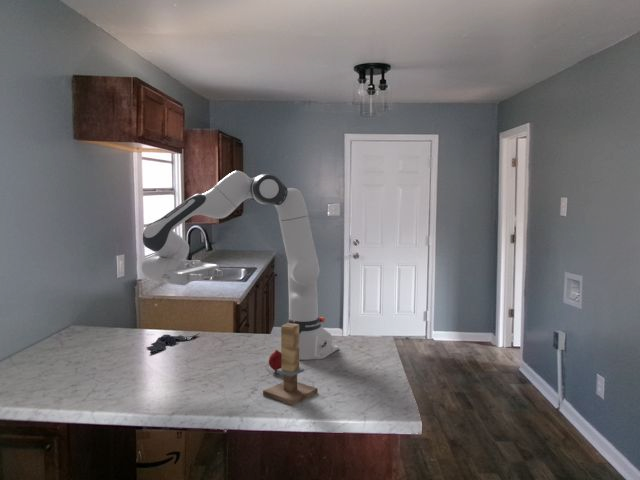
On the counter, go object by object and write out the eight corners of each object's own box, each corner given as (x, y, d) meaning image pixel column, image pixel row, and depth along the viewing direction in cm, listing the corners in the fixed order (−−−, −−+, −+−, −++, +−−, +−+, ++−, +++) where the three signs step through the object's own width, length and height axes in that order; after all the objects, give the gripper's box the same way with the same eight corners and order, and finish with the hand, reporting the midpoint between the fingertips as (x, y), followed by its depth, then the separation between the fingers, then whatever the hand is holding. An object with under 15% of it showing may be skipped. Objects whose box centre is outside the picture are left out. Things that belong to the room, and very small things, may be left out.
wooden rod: (288, 366, 167) (288, 322, 165) (299, 368, 165) (299, 324, 163) (281, 370, 163) (281, 325, 162) (292, 372, 161) (292, 327, 160)
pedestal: (289, 383, 173) (288, 360, 173) (317, 392, 166) (317, 368, 165) (263, 395, 164) (262, 370, 163) (292, 405, 157) (291, 379, 156)
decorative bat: (183, 323, 232) (201, 328, 228) (183, 333, 233) (201, 338, 228) (131, 341, 206) (150, 347, 201) (131, 352, 206) (150, 358, 202)
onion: (288, 369, 187) (287, 347, 186) (281, 375, 181) (281, 352, 180) (272, 367, 189) (272, 345, 188) (266, 373, 183) (265, 350, 182)
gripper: (157, 267, 172) (190, 270, 165) (200, 259, 190) (231, 262, 183) (158, 286, 173) (190, 290, 166) (201, 276, 191) (231, 280, 184)
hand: (212, 275), depth 175 cm, fingers open, 8 cm apart
